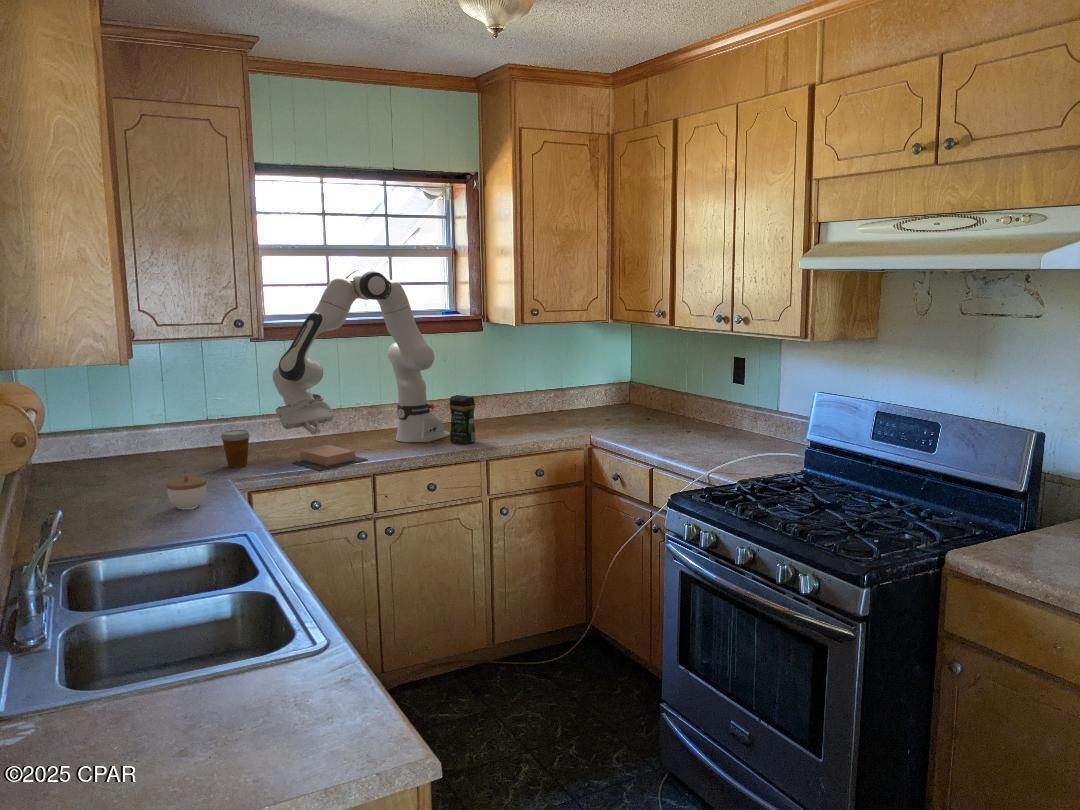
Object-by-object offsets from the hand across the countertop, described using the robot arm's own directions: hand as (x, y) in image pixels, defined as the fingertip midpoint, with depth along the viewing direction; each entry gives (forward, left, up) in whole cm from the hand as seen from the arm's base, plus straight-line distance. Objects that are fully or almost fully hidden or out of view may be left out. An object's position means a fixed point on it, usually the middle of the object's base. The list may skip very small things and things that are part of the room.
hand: (316, 433), depth 298 cm
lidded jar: (+59, +22, -10) cm, 64 cm away
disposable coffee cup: (+24, -13, -10) cm, 29 cm away
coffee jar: (-52, +21, -10) cm, 57 cm away
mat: (0, +8, -9) cm, 12 cm away
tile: (0, -2, -7) cm, 7 cm away
